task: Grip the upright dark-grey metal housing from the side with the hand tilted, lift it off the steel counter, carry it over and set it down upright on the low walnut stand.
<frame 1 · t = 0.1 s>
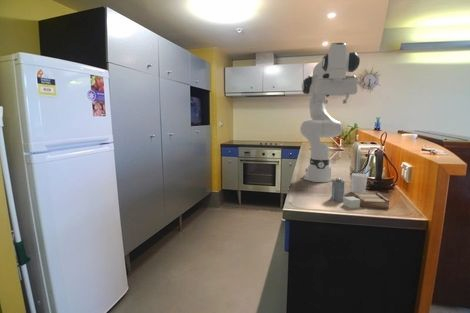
hand: (335, 103, 137), 48 cm above the countertop, tool pointing down, fingers open, 8 cm apart
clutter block: (351, 206, 123), on the countertop
white cup: (358, 192, 146), on the countertop
stand: (369, 203, 127), on the countertop
housing: (337, 200, 133), on the countertop
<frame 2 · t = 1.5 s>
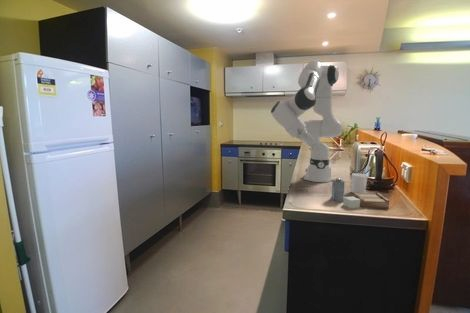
hand: (316, 149, 130), 25 cm above the countertop, tool tilted 45°, fingers open, 8 cm apart
nothing on the countertop moved.
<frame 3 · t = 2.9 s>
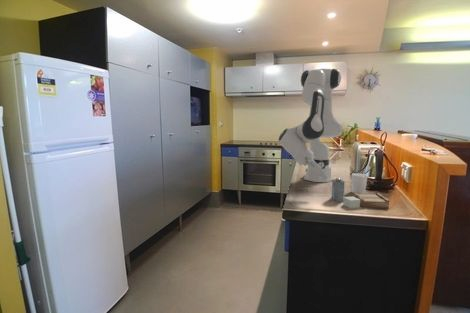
hand: (323, 176, 132), 12 cm above the countertop, tool tilted 45°, fingers open, 8 cm apart
nothing on the countertop moved.
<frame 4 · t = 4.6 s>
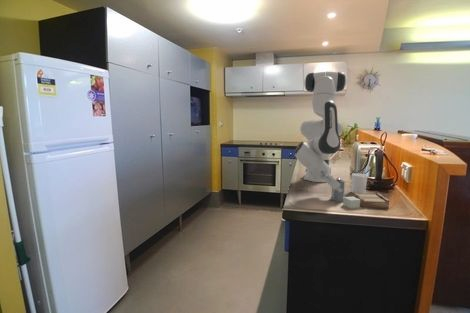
hand: (339, 189, 132), 5 cm above the countertop, tool tilted 45°, fingers closed on housing, 4 cm apart
housing: (337, 199, 133), on the countertop, touching gripper
everything else where it was.
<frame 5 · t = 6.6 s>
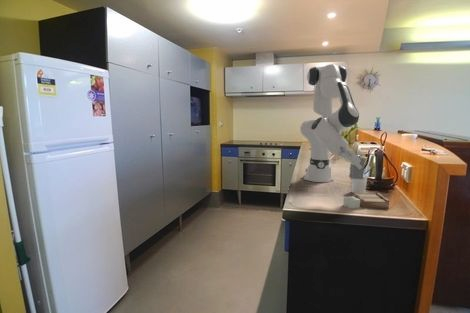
hand: (358, 167, 127), 17 cm above the countertop, tool tilted 45°, fingers closed on housing, 4 cm apart
housing: (356, 177, 128), point 12 cm above the countertop, touching gripper
everything else where it was.
when the fingers open (9 cm above the countertop, at t = 8.9 s): housing stays where it is, resting on stand.
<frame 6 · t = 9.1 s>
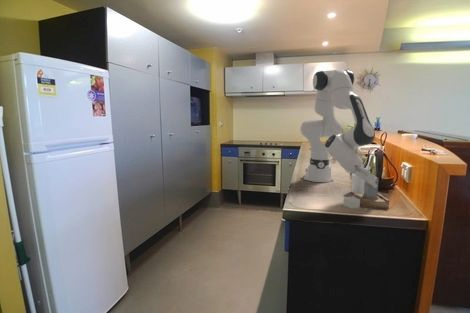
hand: (372, 184, 126), 9 cm above the countertop, tool tilted 45°, fingers open, 6 cm apart
housing: (370, 197, 127), point 3 cm above the countertop, touching stand
everything else where it was.
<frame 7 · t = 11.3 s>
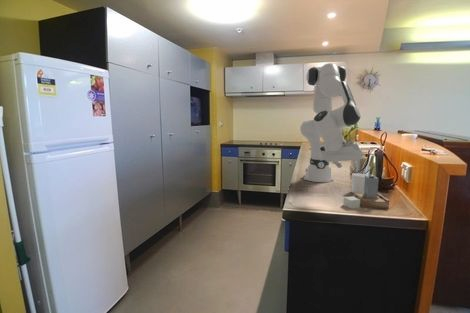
hand: (348, 166, 129), 17 cm above the countertop, tool tilted 35°, fingers open, 8 cm apart
nothing on the countertop moved.
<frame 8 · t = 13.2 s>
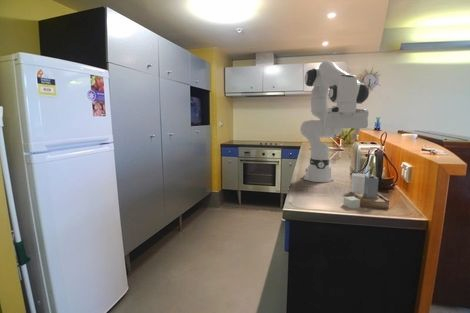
hand: (344, 137, 130), 31 cm above the countertop, tool pointing down, fingers open, 8 cm apart
nothing on the countertop moved.
at the end: housing inside the target area on the stand (0.1 cm from its centre), point 3.0 cm above the stand's base; housing tilted 0°; the gripper is holding nothing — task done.
